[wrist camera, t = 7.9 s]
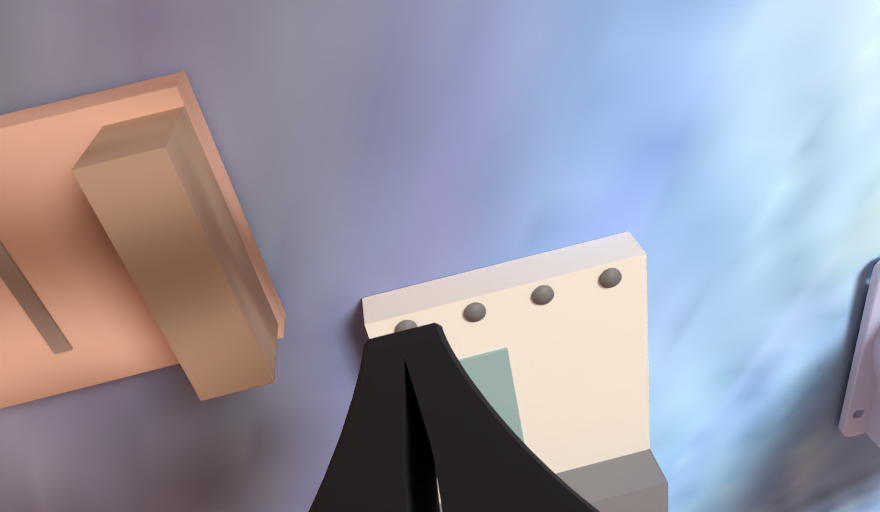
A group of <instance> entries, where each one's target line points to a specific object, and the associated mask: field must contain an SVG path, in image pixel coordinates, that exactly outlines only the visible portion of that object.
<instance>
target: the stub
mask: <svg viewBox="0 0 880 512" xmlns="http://www.w3.org/2000/svg"><path fill="white" fill-rule="evenodd" d="M284 325H285V312H284V309H283V307H282V304H281V302H280V300H279V297H278V295H277V292H276V290H275V288H274V285H273V283H272V280H271V278H270V276H269V273H268V271H267V268H266V266H265V264H264V261H263V259H262V256H261V254H260V251H259V249H258V247H257V244H256V242H255V239H254V237H253V235H252V232H251V230H250V227H249V225H248V223H247V220H246V218H245V215H244V213H243V211H242V208H241V206H240V203H239V201H238V199H237V196H236V194H235V191H234V189H233V187H232V184H231V182H230V179H229V177H228V175H227V172H226V170H225V167H224V165H223V162H222V160H221V158H220V155H219V153H218V150H217V148H216V146H215V143H214V141H213V138H212V136H211V134H210V131H209V129H208V126H207V124H206V122H205V119H204V117H203V114H202V112H201V110H200V107H199V105H198V102H197V100H196V98H195V95H194V93H193V90H192V88H191V86H190V83H189V81H188V78H187V76H186V73H185V71H183V72H179V73H175V74H170V75H166V76H162V77H158V78H154V79H150V80H145V81H141V82H137V83H133V84H129V85H125V86H120V87H116V88H112V89H108V90H104V91H100V92H95V93H91V94H87V95H83V96H79V97H75V98H70V99H66V100H62V101H58V102H54V103H50V104H45V105H41V106H37V107H33V108H29V109H25V110H20V111H16V112H12V113H8V114H4V115H0V409H1V408H5V407H9V406H13V405H17V404H21V403H25V402H29V401H33V400H37V399H41V398H45V397H49V396H53V395H57V394H61V393H65V392H68V391H72V390H76V389H80V388H84V387H88V386H92V385H96V384H100V383H104V382H108V381H112V380H116V379H120V378H124V377H128V376H132V375H136V374H140V373H144V372H148V371H152V370H156V369H160V368H164V367H168V366H172V365H176V364H181V366H182V368H183V370H184V372H185V373H186V375H187V377H188V379H189V380H190V382H191V384H192V386H193V388H194V389H195V391H196V393H197V395H198V397H199V398H200V400H201V401H203V400H207V399H211V398H215V397H219V396H223V395H227V394H231V393H235V392H239V391H243V390H247V389H251V388H255V387H259V386H262V385H266V384H270V383H274V377H275V364H276V350H277V339H279V338H283V337H284Z"/></svg>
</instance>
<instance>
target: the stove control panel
mask: <svg viewBox="0 0 880 512" xmlns="http://www.w3.org/2000/svg"><path fill="white" fill-rule="evenodd" d="M362 303H363V313H364V323H365V327H366V330H367V333H368V336H369V339H371V338H375V337H379V336H383V335H387V334H391V333H395V332H399V331H403V330H407V329H411V328H415V327H419V326H423V325H427V324H431V323H437V324H439V325H441V326H442V328H443V331H444V334H445V336H446V338H447V340H448V342H449V344H450V346H451V348H452V350H453V352H454V353H455V355H456V357H457V358H458V360H459V362H460V363H461V365H462V366H463V368H464V369H465V371H466V372H467V374H468V375H469V377H470V378H471V380H472V381H473V382H474V384H475V385H476V386H477V388H478V389H479V390H480V392H481V393H482V394H483V396H484V397H485V398H486V400H487V401H488V402H489V403H490V405H491V406H492V407H493V408H494V409H495V411H496V412H497V413H498V414H499V416H500V417H501V418H502V419H503V420H504V421H505V422H506V424H507V425H508V426H509V427H510V428H511V429H512V430H513V432H514V433H515V434H516V435H517V436H518V437H519V438H520V439H521V440H522V441H523V442H524V443H525V444H526V445H527V447H528V448H529V449H530V450H531V451H532V452H533V453H534V454H535V455H536V456H537V457H538V458H539V459H540V460H542V461H543V462H544V463H545V464H546V465H547V466H548V467H549V468H550V469H551V470H552V471H553V472H554V473H555V474H556V475H557V476H558V477H560V478H561V479H562V480H563V481H564V482H565V483H566V484H567V485H568V486H569V487H571V488H572V489H573V490H574V491H575V492H576V493H578V494H579V495H580V496H581V497H583V498H584V499H585V500H586V501H587V502H589V503H590V504H591V505H592V506H594V507H595V508H596V509H597V510H599V511H600V512H668V482H667V480H666V478H665V476H664V474H663V472H662V471H661V469H660V467H659V465H658V463H657V461H656V459H655V458H654V456H653V454H652V452H651V450H650V431H649V377H648V322H647V268H646V253H645V252H644V250H643V249H642V248H641V246H640V245H639V244H638V243H637V241H636V240H635V239H634V238H633V236H632V235H631V234H630V232H629V231H627V232H623V233H619V234H615V235H611V236H607V237H603V238H599V239H595V240H591V241H587V242H583V243H580V244H576V245H572V246H568V247H564V248H560V249H556V250H552V251H548V252H544V253H540V254H536V255H532V256H528V257H524V258H520V259H516V260H512V261H508V262H504V263H500V264H496V265H492V266H488V267H484V268H480V269H476V270H472V271H468V272H464V273H460V274H456V275H452V276H448V277H444V278H440V279H436V280H432V281H428V282H424V283H420V284H416V285H412V286H408V287H404V288H400V289H396V290H393V291H389V292H385V293H381V294H377V295H373V296H369V297H365V298H362ZM437 483H438V480H437ZM438 493H439V487H438ZM439 503H440V512H442V506H441V499H440V493H439Z"/></svg>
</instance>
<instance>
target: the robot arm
mask: <svg viewBox="0 0 880 512" xmlns="http://www.w3.org/2000/svg"><path fill="white" fill-rule="evenodd" d="M838 428H839V430H840V432H841V433H842V434H843V435H844V436H845V437H854V436H858V435H861V434H865V433H866V434H867V435H868V436H869V437H870V438H871V440H872V441H873V442H874V443H875V444H876V445H877V446H878V447H879V448H880V260H879V261H878V262H877V263H876V264H875V266H874V268H873V270H872V275H871V279H870V284H869V289H868V293H867V298H866V302H865V307H864V312H863V316H862V321H861V325H860V330H859V334H858V339H857V344H856V348H855V353H854V357H853V362H852V366H851V371H850V376H849V380H848V385H847V389H846V394H845V399H844V403H843V408H842V412H841V417H840V421H839V426H838ZM437 480H438V483H437ZM438 487H439V493H440V499H441V506H442V512H600V511H599V510H597V509H596V508H595V507H594V506H592V505H591V504H590V503H589V502H587V501H586V500H585V499H584V498H583V497H581V496H580V495H579V494H578V493H576V492H575V491H574V490H573V489H572V488H571V487H569V486H568V485H567V484H566V483H565V482H564V481H563V480H562V479H561V478H560V477H558V476H557V475H556V474H555V473H554V472H553V471H552V470H551V469H550V468H549V467H548V466H547V465H546V464H545V463H544V462H543V461H542V460H540V459H539V458H538V457H537V456H536V455H535V454H534V453H533V452H532V451H531V450H530V449H529V448H528V447H527V445H526V444H525V443H524V442H523V441H522V440H521V439H520V438H519V437H518V436H517V435H516V434H515V433H514V432H513V430H512V429H511V428H510V427H509V426H508V425H507V424H506V422H505V421H504V420H503V419H502V418H501V417H500V416H499V414H498V413H497V412H496V411H495V409H494V408H493V407H492V406H491V405H490V403H489V402H488V401H487V400H486V398H485V397H484V396H483V394H482V393H481V392H480V390H479V389H478V388H477V386H476V385H475V384H474V382H473V381H472V380H471V378H470V377H469V375H468V374H467V372H466V371H465V369H464V368H463V366H462V365H461V363H460V362H459V360H458V358H457V357H456V355H455V353H454V352H453V350H452V348H451V346H450V344H449V342H448V340H447V338H446V336H445V334H444V331H443V328H442V326H441V325H439V324H437V323H431V324H427V325H423V326H419V327H415V328H411V329H407V330H403V331H399V332H395V333H391V334H387V335H383V336H379V337H375V338H371V339H368V341H367V342H366V343H365V345H364V349H363V356H362V361H361V366H360V371H359V375H358V379H357V383H356V387H355V390H354V394H353V398H352V401H351V404H350V407H349V410H348V413H347V417H346V420H345V423H344V426H343V429H342V432H341V435H340V438H339V441H338V443H337V446H336V448H335V451H334V453H333V456H332V458H331V461H330V464H329V466H328V469H327V471H326V474H325V476H324V479H323V481H322V483H321V486H320V488H319V490H318V492H317V495H316V497H315V499H314V501H313V503H312V505H311V507H310V510H309V512H440V503H439V493H438Z"/></svg>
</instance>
